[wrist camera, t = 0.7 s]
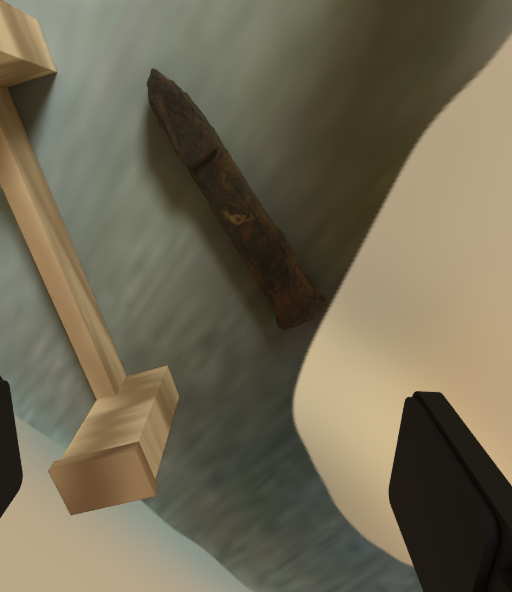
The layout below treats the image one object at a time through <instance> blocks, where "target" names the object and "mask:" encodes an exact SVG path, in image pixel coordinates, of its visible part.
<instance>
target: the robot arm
mask: <svg viewBox="0 0 512 592" xmlns="http://www.w3.org/2000/svg"><path fill="white" fill-rule="evenodd" d="M22 478H23V473H22V466H21V459H20V452H19V446H18V439H17V433H16V426H15V419H14V412H13V405H12V399H11V392H10V386H9V383H8V382H7V381H5V380H3V379H2V377H1V376H0V518H1V516H2V515H3V513H4V512H5V510H6V509H7V507H8V506H9V504H10V503H11V502H12V500H13V498H14V497H15V495H16V494H17V493H18V491H19V489H20V487H21V484H22ZM389 500H390V504H391V507H392V510H393V513H394V515H395V518H396V520H397V523H398V526H399V528H400V531H401V533H402V536H403V539H404V541H405V544H406V547H407V550H408V552H409V555H410V557H411V560H412V563H413V565H414V568H415V571H416V573H417V576H418V579H419V581H420V584H421V586H422V589H423V592H512V486H511V484H510V483H509V482H508V480H507V479H506V478H505V476H504V475H503V474H502V472H501V471H500V470H499V469H498V467H497V466H496V465H495V463H494V462H493V461H492V459H491V458H490V457H489V455H488V454H487V453H486V451H485V450H484V449H483V447H482V446H481V445H480V443H479V442H478V441H477V440H476V438H475V437H474V435H473V434H472V433H471V431H470V430H469V429H468V428H467V426H466V425H465V423H464V422H463V421H462V419H461V418H460V417H459V415H458V414H457V413H456V412H455V410H454V409H453V407H452V406H451V405H450V403H449V402H448V401H447V399H446V398H445V397H444V395H443V394H442V393H440V392H421V391H416V392H414V394H413V396H412V397H407V398H406V400H405V403H404V408H403V414H402V420H401V424H400V430H399V435H398V441H397V447H396V451H395V457H394V463H393V468H392V474H391V479H390V484H389Z"/></svg>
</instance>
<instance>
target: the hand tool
mask: <svg viewBox="0 0 512 592" xmlns="http://www.w3.org/2000/svg"><path fill="white" fill-rule="evenodd" d="M147 87H148V99H149V102H150V104H151V106H152V109H153V111H154V112H155V114H156V116H157V119H158V121H159V124H160V126H161V127H162V128H163V129H164V130H165V132H166V133H167V135H168V137H169V140H170V142H171V144H172V145H173V147H174V150H175V153H176V155H177V156H178V157H179V159H180V160H181V162H182V163H183V164H184V165H186V167H187V168H188V170H189V172H190V174H191V176H192V177H193V179H194V180H195V182H196V183H197V185H198V186H199V188H200V190H201V191H202V193H203V195H204V196H205V197H206V199H207V200H208V202H209V204H210V206H211V208H212V210H213V211H214V213H215V214H216V216H217V218H218V220H219V221H220V223H221V225H222V227H223V228H224V230H225V231H226V233H227V234H228V236H229V238H230V239H231V241H232V243H233V244H234V246H235V248H236V249H237V251H238V252H239V254H240V255H241V257H242V259H243V260H244V262H245V264H246V265H247V267H248V269H249V270H250V272H251V274H252V275H253V277H254V278H255V280H256V281H257V283H258V285H259V286H260V288H261V290H262V291H263V293H264V295H265V296H266V297H267V298H268V300H269V301H270V303H271V305H272V306H273V308H274V309H275V311H276V312H277V315H276V322H277V326H278V327H279V328H281V329H283V330H285V329H290V328H292V327H294V326H297V325H299V324H301V323H303V322H305V321H310V320H311V319H313V318H314V317H315V315H316V314H317V313H318V312H319V311H320V310H321V309H322V308H323V307H324V306H325V305H326V304H327V298H326V297H325V296H324V295H322V294H321V293H319V292H317V291H315V290H314V289H313V287H312V284H311V281H310V278H309V277H308V275H305V274H303V272H302V270H301V267H300V266H299V264H298V262H297V261H296V258H295V256H294V254H293V253H292V251H291V249H290V247H289V245H288V243H287V241H286V240H285V236H284V234H283V233H282V232H281V231H280V230H279V229H278V228H277V227H276V226H274V224H273V222H272V221H271V219H270V218H269V217H268V215H267V213H266V212H265V210H264V208H263V207H262V205H261V204H260V202H259V201H258V199H257V198H256V196H255V194H254V193H253V191H252V190H251V188H250V187H249V185H248V184H247V182H246V180H245V178H244V177H243V175H242V173H241V172H240V170H239V169H238V167H237V165H236V164H235V162H234V161H233V159H232V158H231V156H230V154H229V153H228V151H227V150H226V149H225V147H224V146H223V144H222V142H221V140H220V138H219V136H218V135H217V133H216V131H215V130H214V128H213V127H212V126H211V125H210V124H209V123H208V120H207V119H206V117H205V116H204V115H203V113H202V112H201V111H200V109H199V108H198V107H197V106H196V105H195V104H194V102H193V101H192V99H191V98H190V96H189V95H188V94H187V93H186V92H185V93H184V92H183V91H182V89H181V88H180V87H178V86H177V85H176V84H175V82H174V81H172V80H169V79H167V78H166V77H165V76H164V75H163V74H162V73H160V72H159V71H158V70H156V69H154V68H153V69H151V74H150V77H149V79H148V81H147Z"/></svg>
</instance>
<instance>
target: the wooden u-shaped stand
mask: <svg viewBox="0 0 512 592" xmlns="http://www.w3.org/2000/svg"><path fill="white" fill-rule="evenodd" d="M56 72H57V70H56V68H55V65H54V62H53V60H52V57H51V54H50V52H49V49H48V46H47V44H46V41H45V38H44V36H43V33H42V30H41V28H40V25H39V22H38V21H37V20H36V19H34V18H32V17H30V16H29V15H27V14H25V13H24V12H22V11H20V10H18V9H17V8H15V7H13V6H11V5H10V4H8V3H6V2H4V1H3V0H0V184H1V187H2V189H3V191H4V193H5V196H6V198H7V200H8V202H9V205H10V207H11V209H12V211H13V214H14V216H15V218H16V220H17V222H18V225H19V227H20V229H21V231H22V234H23V236H24V238H25V240H26V243H27V245H28V247H29V249H30V252H31V254H32V256H33V258H34V260H35V263H36V265H37V267H38V269H39V272H40V274H41V276H42V278H43V281H44V283H45V285H46V287H47V290H48V292H49V294H50V296H51V298H52V301H53V303H54V305H55V307H56V310H57V312H58V314H59V316H60V319H61V321H62V323H63V325H64V328H65V330H66V332H67V334H68V336H69V339H70V341H71V343H72V345H73V348H74V350H75V352H76V354H77V357H78V359H79V361H80V363H81V366H82V368H83V370H84V372H85V374H86V377H87V379H88V381H89V383H90V386H91V388H92V390H93V392H94V395H95V397H96V399H97V401H96V402H95V404H94V406H93V407H92V409H91V411H90V412H89V414H88V415H87V417H86V419H85V420H84V422H83V424H82V425H81V427H80V429H79V430H78V432H77V434H76V435H75V437H74V438H73V440H72V442H71V443H70V445H69V447H68V448H67V450H66V452H65V453H64V455H63V457H62V458H61V460H59V461H55V462H53V464H52V465H51V467H50V469H49V470H48V472H49V474H50V476H51V478H52V480H53V482H54V484H55V486H56V488H57V490H58V491H59V493H60V495H61V497H62V499H63V501H64V503H65V505H66V507H67V509H68V511H69V513H70V515H74V514H79V513H83V512H88V511H92V510H96V509H101V508H105V507H110V506H114V505H119V504H123V503H127V502H132V501H136V500H141V499H145V498H149V497H154V496H156V492H157V489H158V485H157V482H156V480H155V479H156V476H157V472H158V469H159V465H160V462H161V458H162V455H163V452H164V448H165V445H166V441H167V438H168V434H169V431H170V427H171V424H172V420H173V417H174V414H175V410H176V407H177V403H178V400H179V394H178V391H177V389H176V386H175V383H174V381H173V378H172V376H171V373H170V370H169V368H168V365H166V366H162V367H158V368H154V369H150V370H146V371H142V372H138V373H134V374H130V375H126V373H125V371H124V368H123V366H122V363H121V361H120V358H119V356H118V354H117V351H116V349H115V346H114V344H113V342H112V339H111V337H110V334H109V332H108V329H107V327H106V325H105V322H104V320H103V317H102V315H101V313H100V310H99V308H98V305H97V303H96V300H95V298H94V296H93V293H92V291H91V288H90V286H89V284H88V281H87V279H86V276H85V274H84V271H83V269H82V267H81V264H80V262H79V259H78V257H77V255H76V252H75V250H74V247H73V245H72V242H71V240H70V238H69V235H68V233H67V230H66V228H65V226H64V223H63V221H62V218H61V216H60V213H59V211H58V209H57V206H56V204H55V201H54V199H53V197H52V194H51V192H50V189H49V187H48V184H47V182H46V180H45V177H44V175H43V172H42V170H41V168H40V165H39V163H38V160H37V158H36V155H35V153H34V151H33V148H32V146H31V143H30V141H29V139H28V136H27V134H26V131H25V129H24V126H23V124H22V122H21V119H20V117H19V114H18V112H17V110H16V107H15V105H14V102H13V100H12V97H11V95H10V93H9V90H8V87H11V86H14V85H17V84H20V83H24V82H27V81H30V80H33V79H36V78H40V77H43V76H46V75H49V74H52V73H56Z"/></svg>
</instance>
